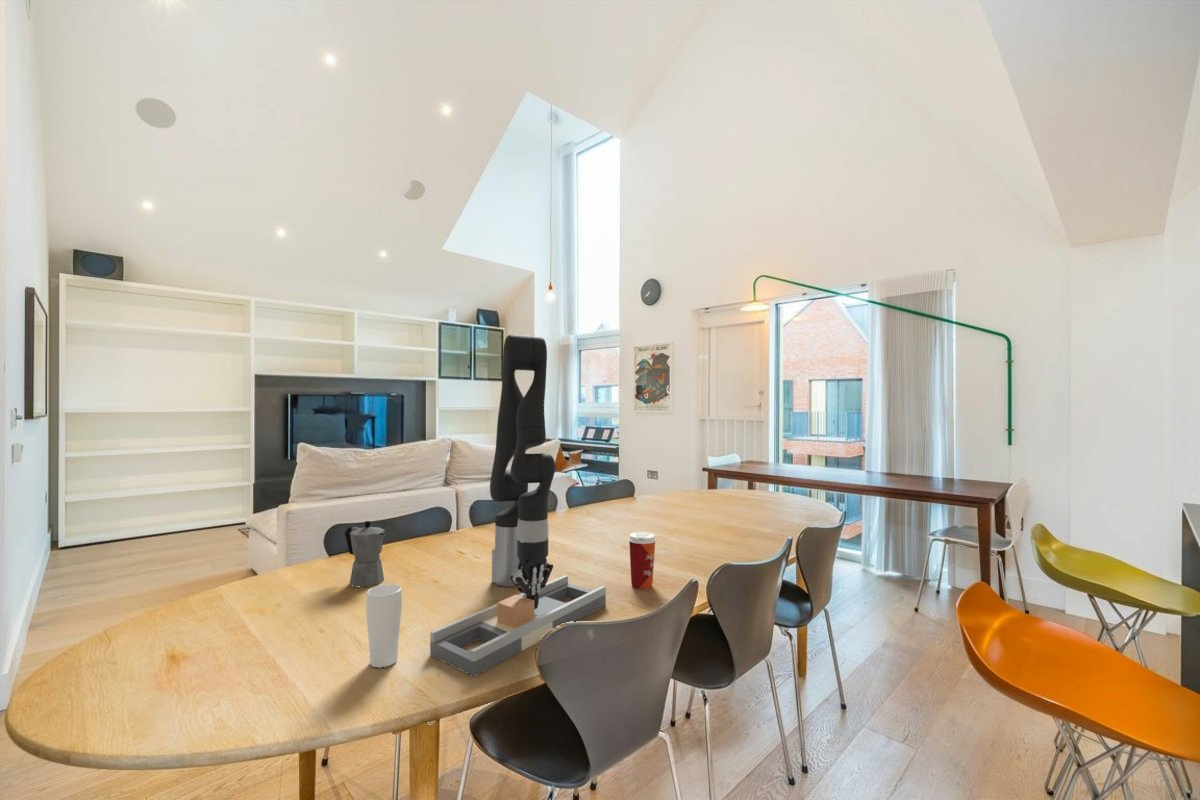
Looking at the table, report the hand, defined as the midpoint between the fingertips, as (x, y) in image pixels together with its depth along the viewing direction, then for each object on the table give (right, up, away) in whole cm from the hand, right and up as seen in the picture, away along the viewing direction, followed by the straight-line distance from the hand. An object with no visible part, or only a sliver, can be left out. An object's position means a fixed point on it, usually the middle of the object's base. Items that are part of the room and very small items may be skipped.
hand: (532, 608), depth 123 cm
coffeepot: (-53, -4, +28) cm, 60 cm away
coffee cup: (+29, -5, +27) cm, 39 cm away
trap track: (-1, -4, -1) cm, 4 cm away
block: (-3, -1, -4) cm, 6 cm away
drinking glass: (-28, -4, -18) cm, 34 cm away
